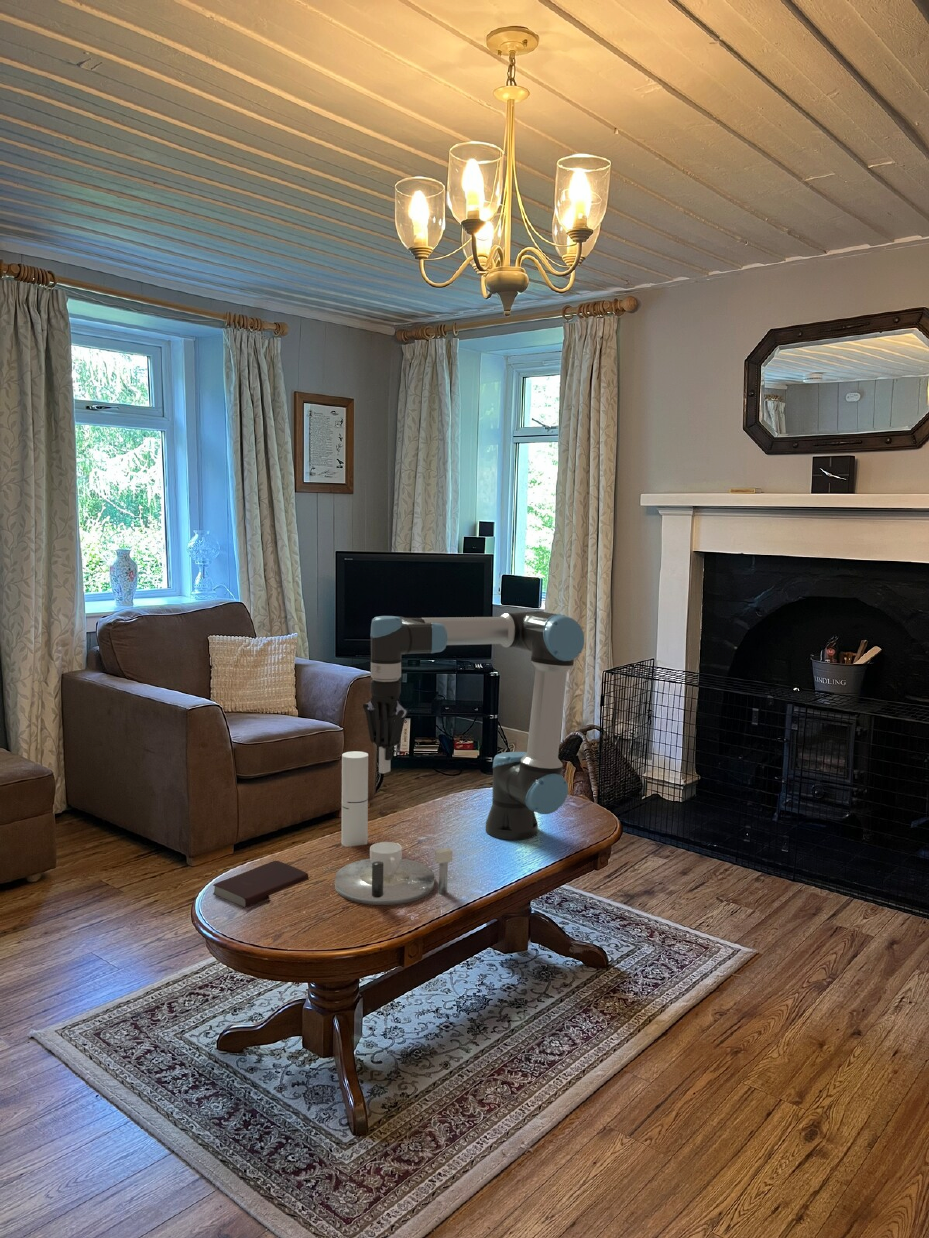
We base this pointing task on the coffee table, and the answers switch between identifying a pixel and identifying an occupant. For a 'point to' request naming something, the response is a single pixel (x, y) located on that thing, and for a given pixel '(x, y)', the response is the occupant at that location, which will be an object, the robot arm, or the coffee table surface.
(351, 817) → the cylindrical container
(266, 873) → the book
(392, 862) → the cup
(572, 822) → the coffee table surface
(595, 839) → the coffee table surface
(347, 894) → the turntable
